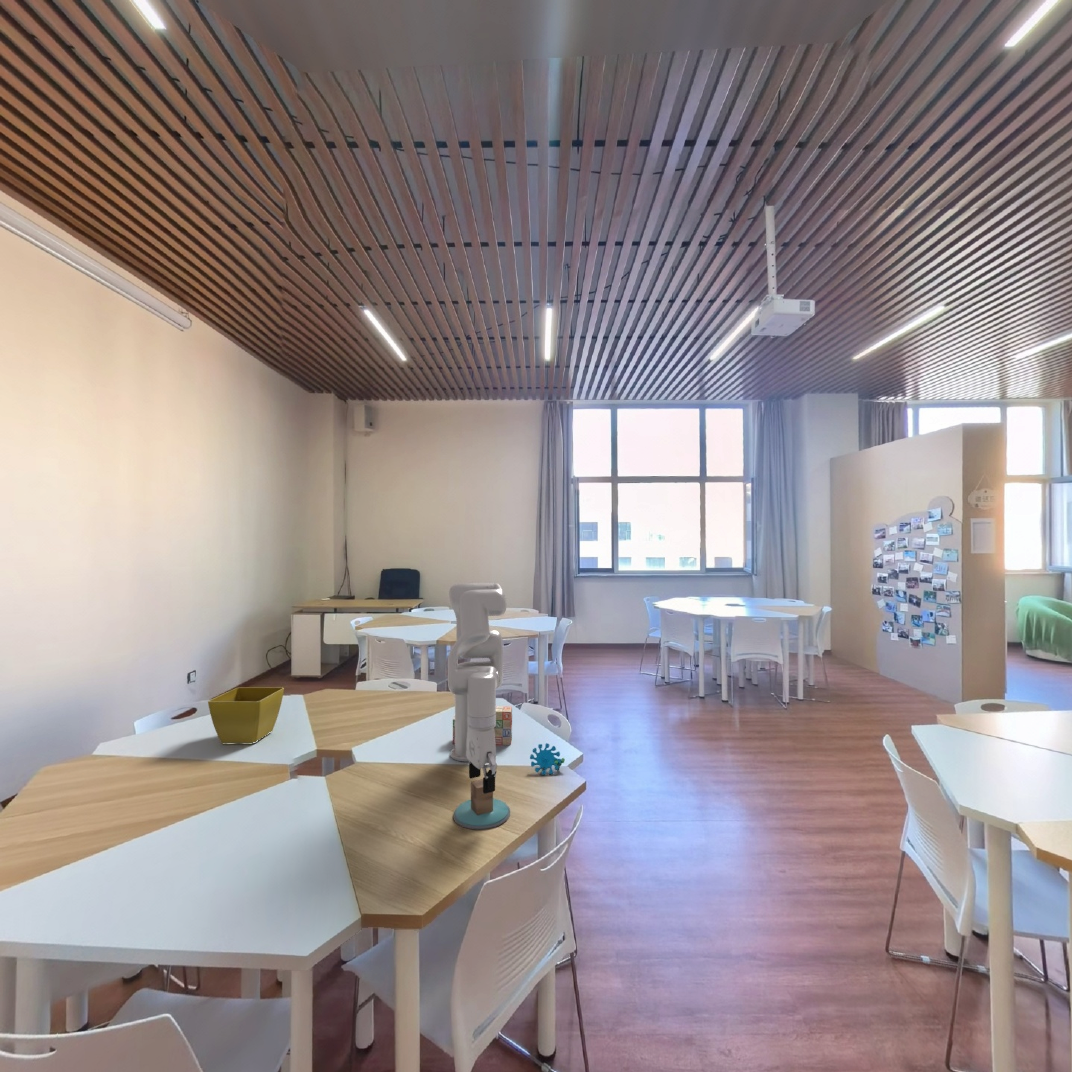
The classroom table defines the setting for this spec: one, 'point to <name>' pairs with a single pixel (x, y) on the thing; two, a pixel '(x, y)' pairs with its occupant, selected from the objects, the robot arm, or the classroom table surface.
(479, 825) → the teal domed disc
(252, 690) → the flower pot
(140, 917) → the classroom table surface
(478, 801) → the walnut block
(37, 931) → the classroom table surface
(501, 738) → the stack of blocks
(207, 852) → the classroom table surface
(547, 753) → the spiky teal germ figurine
